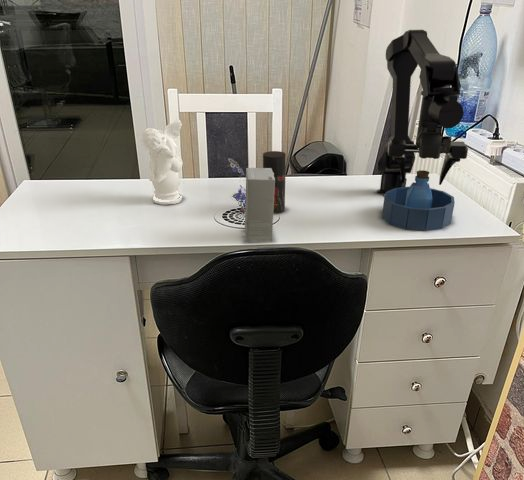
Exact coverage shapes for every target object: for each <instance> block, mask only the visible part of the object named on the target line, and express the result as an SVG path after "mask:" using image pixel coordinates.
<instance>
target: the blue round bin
mask: <svg viewBox="0 0 524 480" xmlns="http://www.w3.org/2000/svg"><path fill="white" fill-rule="evenodd" d="M409 187H410V186H406V187H401V188H394V189H392V190H390V191H387V192H386V193H385V195H384V197H383V206H382V214H381V219H382V220H383V221H384V222H386V223H387V224H388V225H390V226H393V227H396V228H400V229H403V230H409V231H410V230H411V231H420V232H421V231H422V232H427V231H435V230H441V229H445V227H447V226H449V225H451V224H452V218H453V214H454V208H455V202H456V201H455V197H454V196H453V195H451V194H449V193H448V192H447V191H445V190H440V189H436V188H432V187H430V189H431V193H432V205H431V208H430V209H425V208H411V207H406V206H405V202H406V195H407V190H408V188H409Z"/></svg>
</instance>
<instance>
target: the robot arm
mask: <svg viewBox="0 0 524 480" xmlns="http://www.w3.org/2000/svg"><path fill="white" fill-rule="evenodd" d="M385 60H386V69H387V71H388V73H389V74H390V77H391V78H392V94H391V95H392V96H391V118H390V120H391V121H390V137H389V138H388V140H387V141H386V143H385V145H384V148H383V153H382V154H381V157H380V158H379V160H378V162H377V171H378V172H379V173H380V174H381V178H380V185H379V189H377V190H376V193H377V194H382V195H384V196H385V193H386V192H387V191H390V190H392V189H394V188H401V187H407V174H411V173H412V170H413V167H414V164H415V160H416V155H415V153H417V154H418V157H419V158H420V159H433V160H436V159H437V160H438V159H440V157H441V154H444V158H443V162H442V166H441V170H440V175H439V179H438V180H439V181H438V185H439V186H441V185H443V182H444V180H445V179H446V176H447V174H449V171H450V169H451V168H452V167H453V166H454V164H456V163H459V162H461V160H466V159H467V157H468V153H469V148H468V146H467V144H466V143H465V142H464V141H455V140H452V136H450V135H443V128H444V129H452V128H455V127H457V126H458V125H459V124H460V123H461V122H462V120H463V118H464V107H463V105H462V104H461V102H459V101H458V99H459V96H460V94H461V88H462V85H461V79H460V74H459V67H458V65H457V63H456V61H455V60H454V59H453V58H452V57H450V56H446V55H443V54H440V52H439V51H438V49H437V48H436V47H435V45H434V44H433V42H432V41H431V40H430V38H429V36H428V31H426V30H424V29H408V30H406V31H405V32H404V33H403V34H401V35H400V36H398V37H395V38H394V39H392V40H391V42H390V43H389V44H388V45H387V47H386V49H385ZM417 67H419V69H420V72H419V76H418V78H419V81H420V85H421V88H422V90H421V92H420V95H421V96H422V99H421V104H420V111H419V118H418V125H417V133H416V140H415V142H414V141H413V140H411V138H410V136H409V126H410V125H409V123H410V122H409V121H410V105H411V86H412V85H411V84H412V83H411V81H412V76H413V75H414V73H415V71H416V69H417Z"/></svg>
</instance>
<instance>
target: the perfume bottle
mask: <svg viewBox="0 0 524 480" xmlns="http://www.w3.org/2000/svg"><path fill="white" fill-rule="evenodd" d="M429 175H430V171H428V170H423V169H422V170H420V169H419V170H417V171H416V175H415V176H414V177H415V178H414V182H411V184H410V185H409V186H408V187H409V188H408V190H407V195H406V202H405V206H406V207H411V208H425V209H430V208H431V205H432V193H431V189H430V188H431V187H430V183H429V181H430V176H429Z"/></svg>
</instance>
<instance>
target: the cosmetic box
mask: <svg viewBox="0 0 524 480" xmlns="http://www.w3.org/2000/svg"><path fill="white" fill-rule="evenodd" d="M274 192H275V178H274V173H273V171H272V169H271V168H263V167H246V168H245V196H246V199H245V200H244V201H245V202H244V203H245V207H244V235H245V240H246V242H247V243H259V242H261V243H262V242H263V243H264V242H265V243H266V242H268V243H269V242H273V229H274V228H273V227H274V214H273V210H274Z"/></svg>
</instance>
